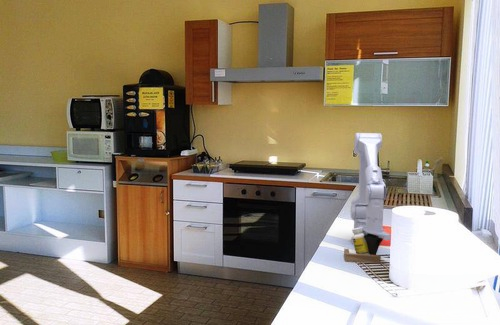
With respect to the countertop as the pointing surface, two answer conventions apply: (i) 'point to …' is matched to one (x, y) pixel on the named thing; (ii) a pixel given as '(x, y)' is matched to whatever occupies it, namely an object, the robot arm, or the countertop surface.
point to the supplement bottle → (360, 241)
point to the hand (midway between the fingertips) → (372, 255)
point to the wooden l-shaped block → (361, 257)
